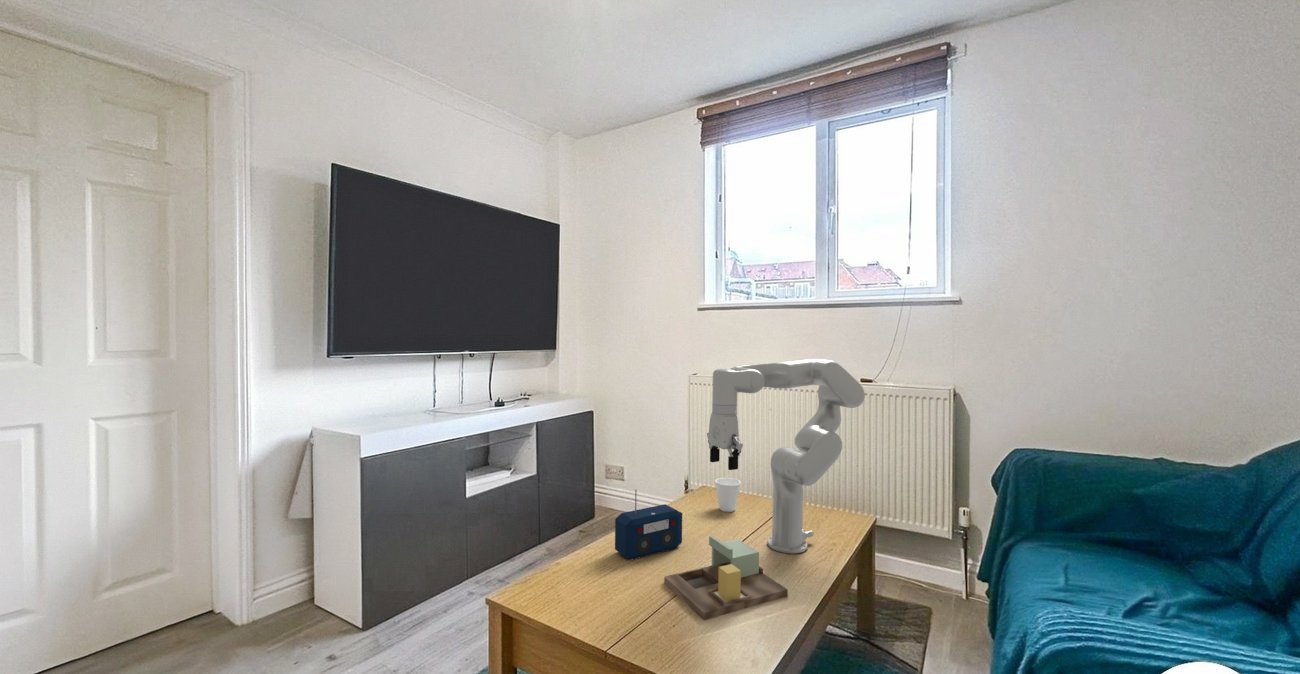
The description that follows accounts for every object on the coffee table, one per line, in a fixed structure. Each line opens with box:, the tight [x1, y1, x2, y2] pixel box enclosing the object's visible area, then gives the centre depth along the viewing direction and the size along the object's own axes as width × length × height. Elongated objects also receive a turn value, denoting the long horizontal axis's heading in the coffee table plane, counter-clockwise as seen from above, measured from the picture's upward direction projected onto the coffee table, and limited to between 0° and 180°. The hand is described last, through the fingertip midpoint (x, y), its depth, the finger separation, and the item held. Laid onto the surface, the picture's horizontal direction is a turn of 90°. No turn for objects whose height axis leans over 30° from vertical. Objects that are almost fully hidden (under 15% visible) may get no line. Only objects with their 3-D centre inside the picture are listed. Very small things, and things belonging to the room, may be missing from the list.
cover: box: [708, 535, 760, 577], centre depth 147 cm, size 10×10×8 cm
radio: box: [614, 488, 683, 560], centre depth 164 cm, size 21×9×20 cm, turn 122°
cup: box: [714, 477, 742, 513], centre depth 202 cm, size 10×10×11 cm
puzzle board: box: [663, 562, 789, 621], centre depth 140 cm, size 26×20×3 cm
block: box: [718, 564, 741, 601], centre depth 133 cm, size 4×4×7 cm
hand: (723, 465), depth 159 cm, fingers open, 9 cm apart
